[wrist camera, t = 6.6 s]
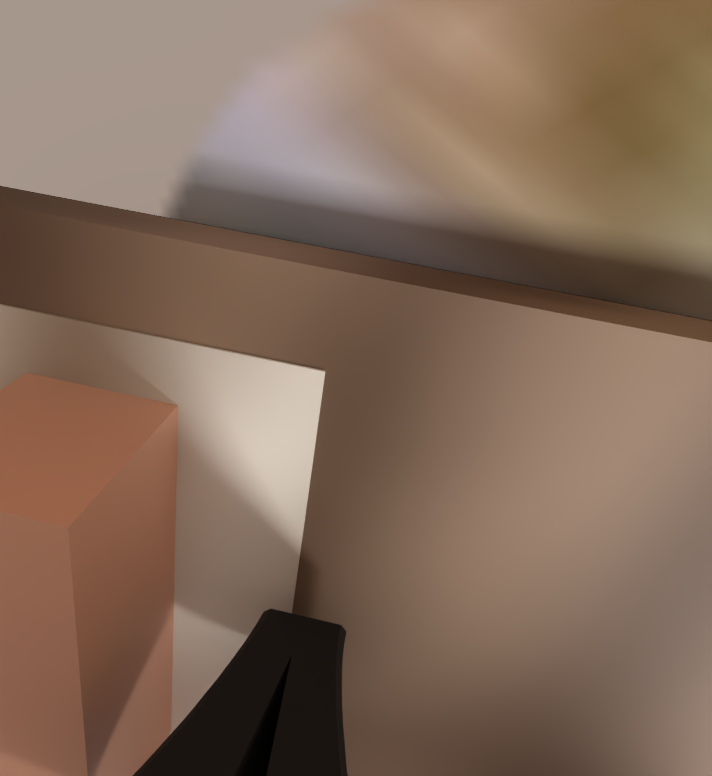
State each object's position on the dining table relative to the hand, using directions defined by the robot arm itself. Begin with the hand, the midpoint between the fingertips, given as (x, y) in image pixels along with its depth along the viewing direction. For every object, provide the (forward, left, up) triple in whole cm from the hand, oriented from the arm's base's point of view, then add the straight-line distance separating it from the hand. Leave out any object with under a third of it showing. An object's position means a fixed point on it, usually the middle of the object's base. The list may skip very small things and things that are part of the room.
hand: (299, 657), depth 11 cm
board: (0, 0, -2) cm, 2 cm away
